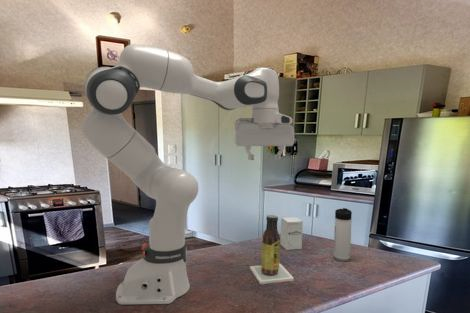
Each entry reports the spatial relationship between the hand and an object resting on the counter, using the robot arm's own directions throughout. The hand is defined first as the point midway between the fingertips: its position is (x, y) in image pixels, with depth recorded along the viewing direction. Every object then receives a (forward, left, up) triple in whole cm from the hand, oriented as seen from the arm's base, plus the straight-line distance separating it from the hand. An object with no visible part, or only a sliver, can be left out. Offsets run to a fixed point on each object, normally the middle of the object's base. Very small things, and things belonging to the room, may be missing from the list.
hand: (264, 159), depth 100 cm
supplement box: (+22, +25, -41) cm, 53 cm away
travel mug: (+37, +9, -41) cm, 56 cm away
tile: (+4, +2, -41) cm, 41 cm away
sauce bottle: (+3, +2, -40) cm, 40 cm away
